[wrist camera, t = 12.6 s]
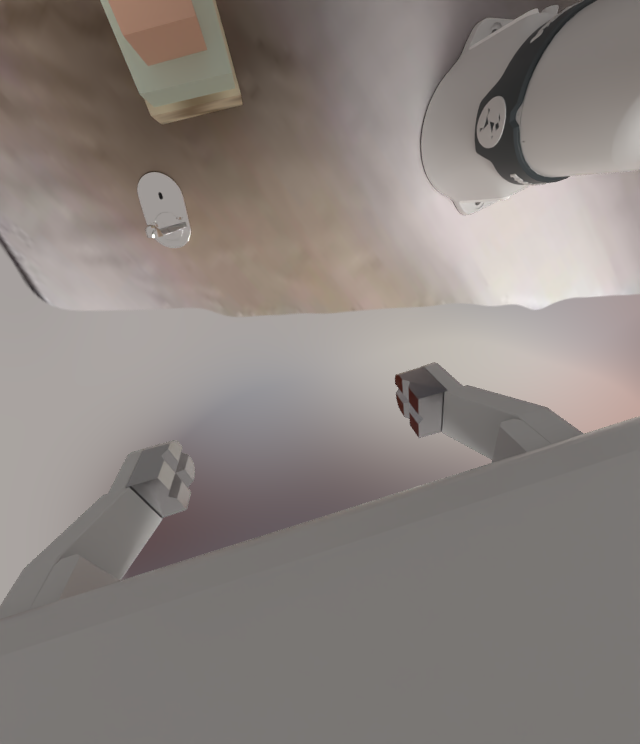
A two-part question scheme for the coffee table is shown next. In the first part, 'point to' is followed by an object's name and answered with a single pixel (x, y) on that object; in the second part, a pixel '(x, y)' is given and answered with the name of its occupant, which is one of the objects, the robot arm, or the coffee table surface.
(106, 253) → the coffee table surface
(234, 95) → the tower base
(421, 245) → the coffee table surface
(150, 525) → the robot arm
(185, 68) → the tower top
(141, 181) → the stand
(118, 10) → the terracotta block
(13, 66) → the coffee table surface
